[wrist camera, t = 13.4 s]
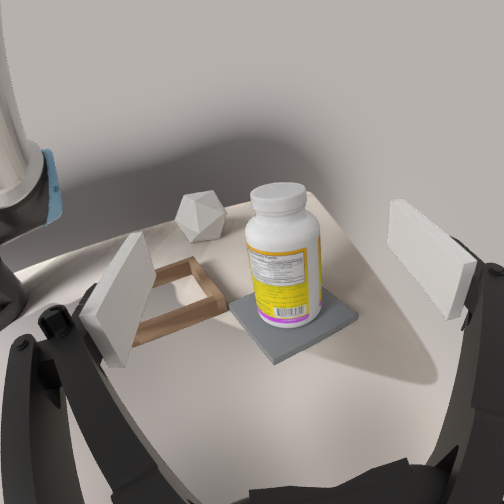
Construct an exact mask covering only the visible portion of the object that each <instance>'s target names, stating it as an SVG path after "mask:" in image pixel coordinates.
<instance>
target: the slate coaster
mask: <svg viewBox="0 0 504 504" xmlns="http://www.w3.org/2000/svg"><path fill="white" fill-rule="evenodd" d="M321 287H322V286H321ZM228 306H229V309H230V311H231V312H232V313H233V315H234V316H235V317H236V318H237V320H238V321H239V322H240V324H241V325H242V326H243V327H244V329H245V330H246V331H247V332H248V334H249V335H250V336H251V337H252V339H253V340H254V341H255V342H256V344H257V345H258V346H259V347H260V349H261V350H262V351H263V352H264V354H265V355H266V356H267V357H268V359H269V360H270V361H271V362H272V363H273V365H275V364H277V363H280V362H282V361H284V360H285V359H287V358H289V357H291V356H293V355H295V354H297V353H299V352H301V351H303V350H304V349H306V348H308V347H310V346H312V345H314V344H315V343H317V342H319V341H321V340H323V339H324V338H326V337H328V336H330V335H331V334H333V333H335V332H337V331H338V330H340V329H342V328H344V327H345V326H347V325H349V324H350V323H352V322H354V321H355V320H357V318H358V313H357V312H356V311H354V310H353V309H352V308H350V307H349V306H347V305H346V304H345V303H343V302H342V301H341V300H339V299H338V298H337V297H335V296H334V295H332V294H331V293H330V292H328V291H327V290H326V289H324V288H323V287H322V303H321V309H320V312H319V314H318V315H317V316H316V317H315V318H314V319H313V320H312V321H311V322H309V323H307V324H305V325H303V326H300V327H296V328H279V327H275V326H272V325H270V324H268V323H266V322H265V321H264V320H263V319H262V318H261V316H260V315H259V312H258V308H257V303H256V297H255V292H254V293H252V294H249V295H247V296H245V297H242V298H240V299H237V300H235V301H232V302H230V303H228Z"/></svg>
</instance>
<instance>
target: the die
mask: <svg viewBox="0 0 504 504" xmlns="http://www.w3.org/2000/svg"><path fill="white" fill-rule="evenodd" d="M226 215H227V212H226V211H225V209H224V207H223V206H222V204H221V203H220V201H219V199H218V198H217V196H216V194H215V193H214V191H213V190H212V191H206V192H199V193H193V194H188V195H184V196H183V199H182V201H181V204H180V207H179V210H178V212H177V215H176V218H175V222H176V223H177V225H178V226H179V228H180V229H181V230H182V232H183V233H184V234H185V236H186V237H187V239H188V240H189V241H190V243H193V242H200V241H207V240H214V239H220V236H221V233H222V229H223V226H224V222H225V218H226Z"/></svg>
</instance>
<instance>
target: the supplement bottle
mask: <svg viewBox="0 0 504 504" xmlns="http://www.w3.org/2000/svg"><path fill="white" fill-rule="evenodd" d="M250 196H251V203H252V204H251V205H252V208H253V209H254V211H255V212H256V215H255V216H254V217H252V218H251V219H250V220H249V222H248V223H247V225H246V228H245V237H246V244H247V249H248V255H249V261H250V267H251V273H252V279H253V285H254V291H255V297H256V303H257V308H258V312H259V315H260V316H261V318H262V319H263V320H264V321H265V322H266V323H268V324H270V325H272V326H275V327H279V328H296V327H300V326H303V325H305V324H307V323H309V322H311V321H312V320H313V319H314V318H315V317H316V316H317V315H318V314H319V312H320V309H321V303H322V287H321V246H320V226H319V222H318V220H317V218H316V217H315V216H314V215H313V214H312V213H311V212H309V211H307V210H305V206H306V202H307V195H306V188H305V186H303V185H302V184H298V183H292V182H278V183H272V184H266V185H263V186H259V187H257V188H255V189H254V190H252V191H251V193H250Z"/></svg>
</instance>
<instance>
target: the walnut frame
mask: <svg viewBox="0 0 504 504" xmlns="http://www.w3.org/2000/svg"><path fill="white" fill-rule="evenodd" d="M155 273H156V279H155V281H154V284H153V287H152V288H154V287H157V286H160V285H163V284H165V283H168V282H171V281H173V280H176V279H179V278H182V277H184V276H187V275H190V274H193V276H194V277H195V279H196V280H197V282H198V283H199V285H200V286H201V288H202V289H203V291H204V292H205V294H206V295H207V296H208V298H205V299H203V300H200V301H197V302H195V303H192V304H190V305H187V306H184V307H182V308H179V309H177V310H174V311H171V312H169V313H166V314H163V315H161V316H158V317H155V318H153V319H150V320H148V321H145V322H142V323H139V326H138V329H137V332H136V335H135V338H134V341H133V344H132V347H136V346H139V345H141V344H144V343H147V342H150V341H152V340H155V339H158V338H160V337H163V336H165V335H168V334H171V333H173V332H176V331H178V330H181V329H184V328H186V327H189V326H191V325H194V324H196V323H199V322H201V321H204V320H206V319H209V318H211V317H214V316H216V315H219V314H221V313H224V312H226V311H228V309H227V305H226V301H225V297H224V295H223V294H222V293H221V291H220V290H219V289H218V288H217V286H216V285H215V284H214V283H213V281H212V280H211V279H210V277H209V276H208V275H207V273H206V272H205V271H204V270H203V268H202V267H201V266H200V264H199V263H198V262H197V260H196V259H195V258H194V256H193V257H190V258H187V259H184V260H181V261H178V262H176V263H173V264H170V265H167V266H164V267H162V268H159V269H156V270H155Z"/></svg>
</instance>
